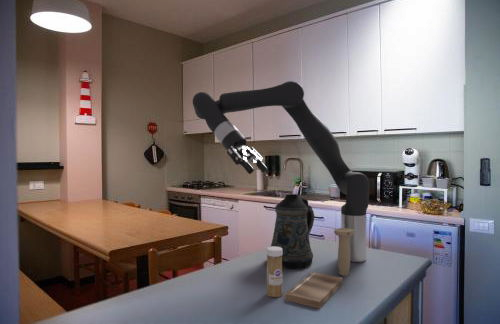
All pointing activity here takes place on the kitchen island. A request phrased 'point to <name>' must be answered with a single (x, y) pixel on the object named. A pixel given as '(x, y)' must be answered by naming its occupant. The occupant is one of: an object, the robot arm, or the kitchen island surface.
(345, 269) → the handle
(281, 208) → the beer stein
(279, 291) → the sprinkles bottle
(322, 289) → the walnut board
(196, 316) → the kitchen island surface
